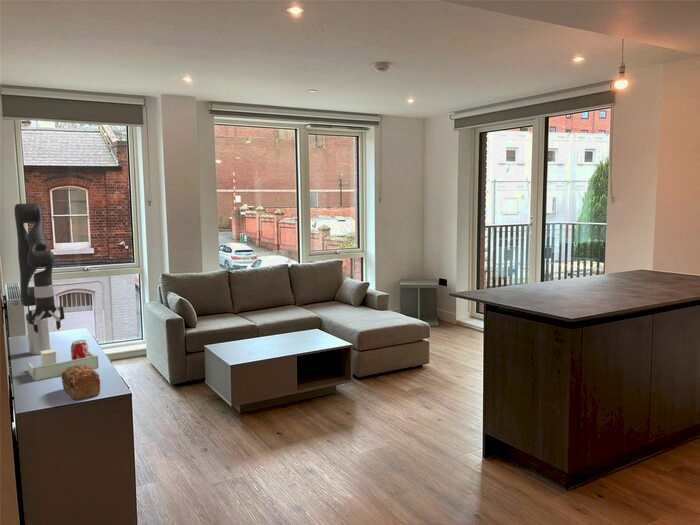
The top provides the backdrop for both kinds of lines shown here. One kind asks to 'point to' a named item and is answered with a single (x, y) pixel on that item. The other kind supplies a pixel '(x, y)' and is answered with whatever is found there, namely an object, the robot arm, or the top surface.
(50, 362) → the cream rectangular block
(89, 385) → the bread
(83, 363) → the u-shaped bracket
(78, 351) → the soda can
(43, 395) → the top surface
